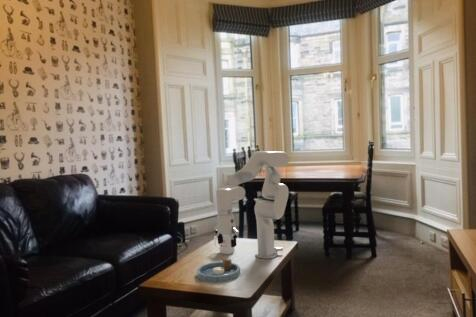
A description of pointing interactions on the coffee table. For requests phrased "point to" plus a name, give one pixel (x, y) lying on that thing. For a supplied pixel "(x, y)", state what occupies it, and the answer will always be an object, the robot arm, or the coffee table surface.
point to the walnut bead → (227, 264)
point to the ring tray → (217, 272)
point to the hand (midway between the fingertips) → (227, 244)
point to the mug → (225, 245)
